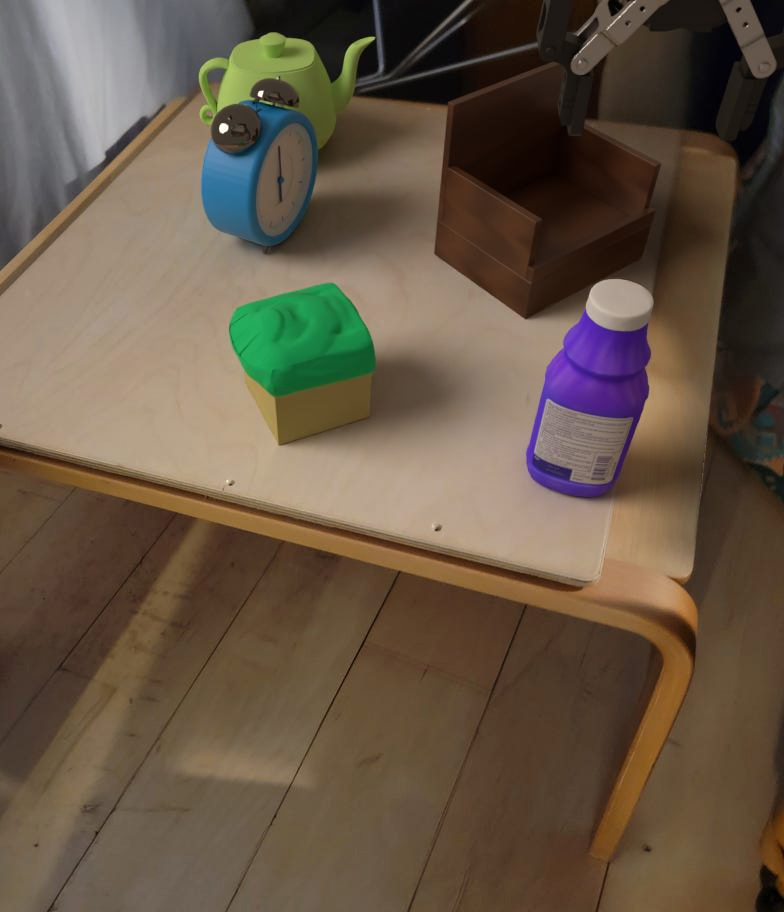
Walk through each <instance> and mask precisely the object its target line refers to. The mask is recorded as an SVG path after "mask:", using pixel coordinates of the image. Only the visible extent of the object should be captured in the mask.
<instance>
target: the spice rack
mask: <svg viewBox="0 0 784 912" xmlns="http://www.w3.org/2000/svg"><path fill="white" fill-rule="evenodd" d="M564 68H565V67H564V66H562V65H561V64H559V63H556V62H550V63H548V62H547V63H546V64H543V65H541V66H537V67H536V68H533V69H530V70H528V71H525V72H522V73H520V74H517V75H515V76H512V77H510V78H508V79H504V80H501V81H499V82H496V83H494V84H492V85H489V86H487V87H484V88H481V89H479V90H476V91H473V92H470V93H468V94H465V95H462V96H460V97H457V98H455V99H453V100H450V101H448V102H447V111H446V120H445V121H446V122H445V132H444V141H443V155H442V164H441V165H442V166H441V175H440V184H439V185H440V186H439V197H438V206H437V207H438V208H437V220H436V230H435V241H434V251H433V255H435V256H436V257H438V258H439V259H440V260H442V261H444V262H445V263H446V264H447V265H449V266H450V267H451V268H453V269H454V270H456V271H457V272H459V273H460V274H462V275H463V276H464V277H465V278H467V279H469V280H470V281H471V282H473V283H474V284H475V285H477V286H478V287H479V288H481V289H482V290H484V291H485V292H487V293H488V294H490V295H491V296H492V297H494V298H495V299H496V300H498V301H499V302H501V303H502V304H503V305H505V306H506V307H508V308H509V309H511V311H513V312H514V313H516V314H517V315H519V316H520V317H521V318H523V319H525V320H526V319H528V318H529V317H531V316H534V315H535V314H538V313H539V312H541V311H543V310H545V309H547V308H548V307H549V308H550V307H551V306H553V305H554V304H557V303H558V302H560V301H563V300H564V299H566V298H568V297H570V296H572V295H574V294H575V293H577V292H579V291H581V290H583V289H585V288H587V287H589V286H591V285H593V284H594V283H595V284H596V282H597V283H598V282H599V281H601V280H602V279H604V278H606V277H608V276H610V275H612V274H613V273H615V272H618V271H620V270H621V269H623V268H625V267H627V266H629V265H631V264H633V263H635V262H636V261H638V260H640V259H642V258H643V255H644V252H645V248H646V245H647V241H648V238H649V235H650V231H651V229H652V225H653V221H654V218H655V215H656V212H657V209H655V208H653V207H652V206H650V205H651V202H652V200H653V199H652V198H653V195H654V191H655V189H656V186H657V185H656V184H657V180H658V178H659V174H660V171H661V167H662V164H663V163H662V162H660V161H658V160H656V159H654V158H653V157H651V156H649V155H647V154H644V153H643V152H641V151H639V150H637V149H635V148H633V147H631V146H629V145H627V144H625V143H623V142H621V141H620V140H618V139H615V138H614V137H612V136H610V135H608V134H606V133H604V132H602V131H600V130H599V129H596V128H594V127H592V126H590V125H588V124H587V123H586V122H585V123H584V128H583V133H582V135H581V136H569V135H568V130H567V126H562V125H561V121H560V117H559V111H558V101H559V96H560V90H561V84H562V79H563V73H564Z"/></svg>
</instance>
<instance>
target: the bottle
mask: <svg viewBox="0 0 784 912" xmlns="http://www.w3.org/2000/svg"><path fill="white" fill-rule="evenodd" d="M654 304H655V301H654V297H653V295H652V293H651V292H650V291H649V290H648V289H647V288H645V287H644V286H643V285H641V284H639V283H637V282H634V281H631V280H627V279H621V278H608V279H604V280H600V281H598V282H597V283H595V284H594V285H593V287H591V289H590V291H589V294H588V298H587V300H586V303H585V308H584V310H583V313H582V315H581V317H580V319H579V320H578V322H577V323H576V324H574V325H573V326H572V327H571V328H569V330H568V331H567V332H566V333H565V335H564V337H563V341H562V345H563V347H562V348H561V349H560V350H559V351H558V352H557V353H556V354H555V356H554V357H553V358H552V359H551V360H550V362H549V364H548V365H546V369H545V373H544V381H543V385H542V388H541V392H540V397H539V401H538V405H537V409H536V414H535V418H534V422H533V426H532V429H531V435H530V438H529V442H528V444H527V447H526V452H525V463H526V467H527V471H528V473H529V476H530V478H531V479H532V480H533V481H534V482H536V483H537V484H538V485H540V486H542V487H544V488H546V489H548V490H551V491H554V492H557V493H560V494H565V495H569V496H574V497H582V498H594V497H600V496H602V495H604V494H605V493H606V492H608V491H609V490H610V489H611V488H612V487H613V486H614V484H616V482H617V481H618V479H619V476H620V474H621V471H622V469H623V466H624V463H625V461H626V458H627V454H628V452H629V449H630V447H631V444H632V441H633V438H634V436H635V433H636V430H637V427H638V426H639V422H640V420H641V417H642V414H643V412H644V409H645V405H646V402H647V400H648V399H649V395H650V385H649V376H648V372H647V370H646V369H647V368H646V367H647V366H648V364H649V362H650V360H651V358H652V350H651V347H650V345H649V342H648V329H649V322H650V320H651V318H652V312H653V309H654V308H653V307H654Z"/></svg>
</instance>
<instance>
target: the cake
mask: <svg viewBox="0 0 784 912" xmlns="http://www.w3.org/2000/svg"><path fill="white" fill-rule="evenodd" d="M228 336H229V341H230V345H231V348H232V350H233V352H234V354H235V355H236V357H237V358H238V361H239V363H240V365H241V367H242V369H243V374H244V383H245V385H246V387H247V389H248V391H249V392H250V394H251V396H252V398H253V400H254V402H255V404H256V406H257V408H258V409H259V411H260V413H261V416H262V417H263V419H264V421H265V423H266V424H267V426H268V428H269V430H270V432H271V434H272V436H273V438H274V440H275V441H276V443H277V445H278V446H281V445H283V444H284V445H285V444H287V443H290V442H294V441H296V440H300V439H303V438H306V437H310V436H312V435H317V434H319V433H322V432H325V431H329V430H332V429H335V428H338V427H341V426H345V425H348V424H351V423H354V422H358V421H361V420H364V419H367V418H370V417H371V416H370V415H371V395H372V394H371V393H372V391H371V390H372V389H371V388H372V378H373V375H374V373H375V371H376V367H377V360H376V352H375V345H374V341H373V338H372V335H371V332H370V330H369V328H368V327H367V325H366V323H365V322H364V320H363V319H362V317H361V315H360V313H359V310H358V309H357V307H356V306H355V304H354V303H353V302H352V300H351V299H350V298H349V297H348V296H347V295H346V294H345V293H344V292H343V290H341V288H340V287H339V286H338V285H337V284H335V282H331V281H330V282H324V283H319V284H316V285H315V284H314V285H312V286H309V287H305V288H302V289H301V288H300V289H297V290H292V291H289V292H285V293H281V294H277V295H273V296H270V297H267V298H263V299H258V300H255V301H252V302H248V303H245V304H242V305H240V306H237V307H236V308H235V310H234V312H233V314H232V316H231V318H230V322H229V325H228Z"/></svg>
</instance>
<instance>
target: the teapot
mask: <svg viewBox="0 0 784 912" xmlns="http://www.w3.org/2000/svg"><path fill="white" fill-rule="evenodd" d="M375 39H376V36H368V37H364V38H361V39H358V40H355V41H354V42H353V43H351V44H350V45H349V46H348V48H347V50H346V52H345V55H344V59H343V64H342V70H341V73H340V75H339V77H337V78H336V80H334V81H333V82H331V78H330V76H329V74H328V72H327V69H326V67H325V65H324V64H323V61H322V59H321V57H320V55H319V53H318V51H317V50H316V47H315V46H314V44H312V43H311V42H310V41H308V40H305V39H300V38H293V37H286V36H285V35H283V34H281V33H279V32H275V31H274V32H268V33H267V34H264V35H262V36H260V37H259V38H258V39H257V38H256V39H251V40H246V41H244V42H240V43H239V44H237V45H236V46H235V47H233V50H232V52H231V54H230V55H229V59H228V58H226V57H214V58H211V59H209V60H207V61H206V62H205V63H203V65H202V66H201V67H200V69H199V72H198V83H199V86H200V89H201V92H202V94H203V96H204V98H205V100H206V102H207V104H204V105H203V106H202V107H200V110H199V118H200V121H201V122H202V124H204V125H205V126H209V127H211V124H212V121H213V119H214V117H215V115H216V114H217V113H218V112H219V111H220V110H221V109H222V108H224V107H226V106H228V105H230V104H237V103H239V102H241V101H245V100H254V99H255V98H252V97H249V95H250V91H251V88H252V87H253V85H254V84H255V83H256V82H258V81H259V80H262V79H265V78H275V79H277V75H278V76H281V77H280V80H283V81H286V82H288V83H290V84H291V85H292V86H293V87H294V88H295V89H296V91H297V93H298V95H299V100H300V101H299V108H295V107H290V106H285V105H280V104H276V103H275V106H278V107H282V108H286V109H290V110H294V111H298V112H300V113H302V114H304V115H305V116H306V117H307V118H308V119H309V120H310V122H311V123H312V125H313V127H314V130H315V133H316V138H317V145H318V151H319V150H320V149H322V148H323V147H324V146H325V145H326V144H327V143H328V141H329V140H330V138H331V136H332V135H333V133H334V131H335V127H336V123H337V115H339V114H340V113H341V112H342V111H344V110H345V109H346V108H347V107H348V105H349V104H350V102H351V100H352V98H353V96H354V93H355V88H356V83H357V71H358V64H359V60H360V57H361V55H362V53H363V51H364V50H365V49H366V48H367V47H368V46H369V45H371V43H373V42H374V41H375ZM215 69H224V72H223V75H222V77H221V81H220V84H219V88H218V95H217V99H216V97H215V95H214V93H213V92H212V91H213V90H212V89H211V87H210V84H209V80H208V73H209V72H210V71H212V70H215ZM259 102H262V103H266V104H270V105H272V103H271V102H267V101H263V100H260V101H259ZM209 111H210V112H212V116H210V115H208V114H207V112H209Z"/></svg>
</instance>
